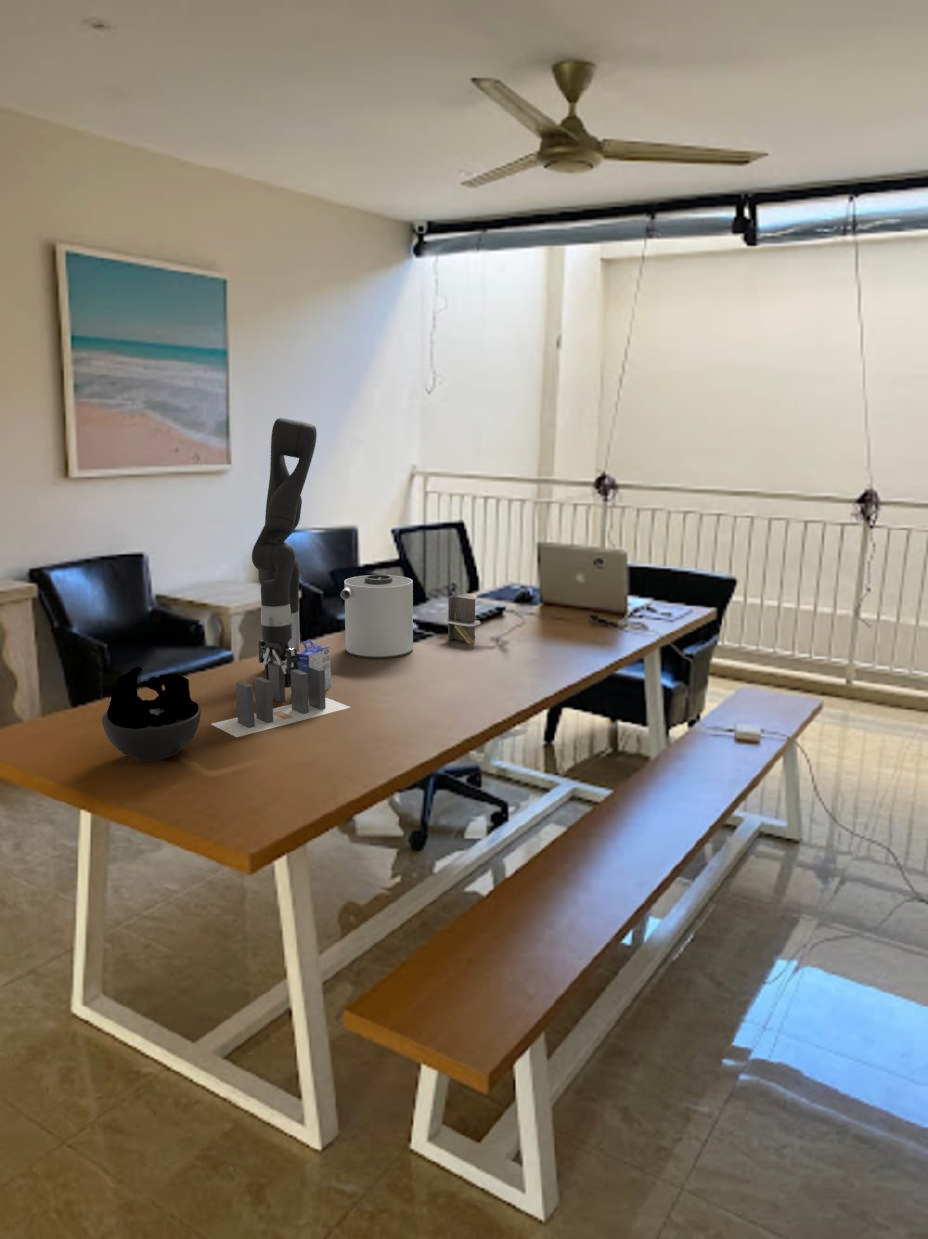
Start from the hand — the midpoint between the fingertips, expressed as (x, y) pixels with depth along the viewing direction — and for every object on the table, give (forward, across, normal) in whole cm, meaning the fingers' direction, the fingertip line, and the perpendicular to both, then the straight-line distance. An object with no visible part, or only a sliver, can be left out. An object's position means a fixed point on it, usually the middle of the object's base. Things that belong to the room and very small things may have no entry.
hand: (278, 683), depth 232 cm
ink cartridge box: (+5, 0, -11) cm, 12 cm away
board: (+5, -11, +6) cm, 14 cm away
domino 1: (+4, -11, +16) cm, 20 cm away
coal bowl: (+6, -14, +40) cm, 43 cm away
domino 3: (+5, +1, 0) cm, 5 cm away
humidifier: (+5, +24, -50) cm, 56 cm away
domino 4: (+4, -11, +2) cm, 12 cm away
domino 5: (+4, -11, -4) cm, 13 cm away
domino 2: (+4, -11, +12) cm, 17 cm away
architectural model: (+5, +15, -79) cm, 81 cm away
